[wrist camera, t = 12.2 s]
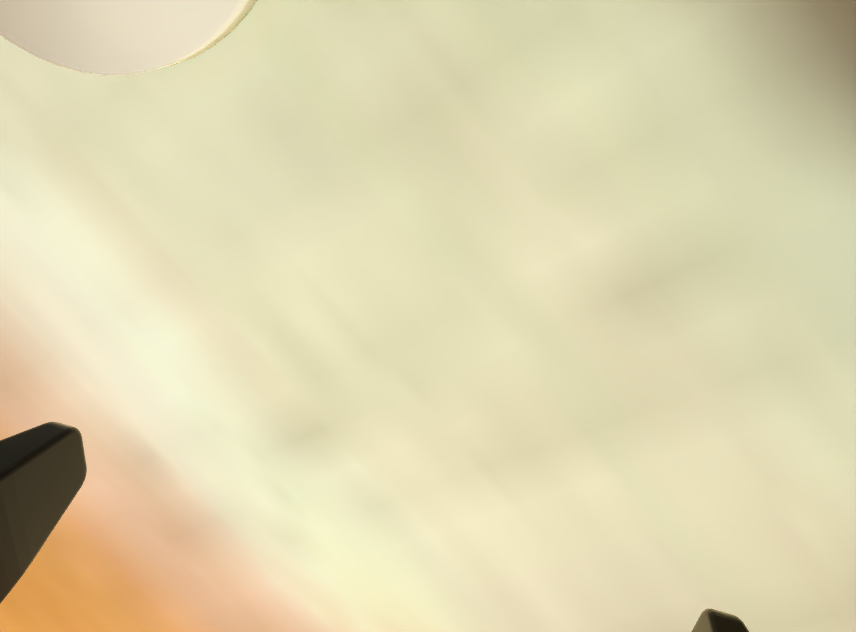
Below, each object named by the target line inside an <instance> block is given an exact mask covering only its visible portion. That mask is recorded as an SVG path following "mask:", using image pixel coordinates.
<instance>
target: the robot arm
mask: <svg viewBox="0 0 856 632" xmlns="http://www.w3.org/2000/svg"><path fill="white" fill-rule="evenodd" d="M86 471H87V468H86V461H85V454H84V448H83V441H82V436H81V433H80V431H79V430H78V429H77V428H75V427H72V426H68V425H65V424H61V423H57V422H48V423H45V424H42V425H40V426H37V427H34V428H32V429H29V430H27V431H24V432H21V433H19V434H16V435H14V436H11V437H8V438H6V439H3V440H1V441H0V603H1V602H2V601H3V599H4V598H5V597H6V596H7V594H8V593H9V592H10V591H11V589H12V588H13V587H14V585H15V584H16V583H17V582H18V580H19V579H20V578H21V576H22V575H23V574H24V572H25V571H26V569H27V568H28V567H29V565H30V564H31V562H32V561H33V559H34V558H35V556H36V555H37V553H38V552H39V550H40V549H41V547H42V546H43V544H44V543H45V541H46V540H47V538H48V536H49V535H50V533H51V532H52V530H53V529H54V527H55V526H56V524H57V523H58V521H59V520H60V518H61V517H62V515H63V514H64V512H65V511H66V509H67V508H68V506H69V505H70V503H71V502H72V500H73V498H74V497H75V495H76V494H77V492H78V491H79V489H80V488H81V486H82V484H83V482H84V480H85V477H86ZM692 632H749V631H748V629H747V628H746V626H745V625H744V623H743V622H742V621H741V620H740V619H739V618H738V617H736V616H734V615H731V614H728V613H724V612H721V611H717V610H714V609H706V610H705V611H703V612H702V614H701V615H700V617H699V619H698V621H697V623H696V625H695V626H694V628H693V630H692Z"/></svg>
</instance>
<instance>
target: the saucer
mask: <svg viewBox="0 0 856 632" xmlns="http://www.w3.org/2000/svg"><path fill="white" fill-rule="evenodd" d="M256 1H257V0H0V35H2V36H3V37H4V38H6V39H7V40H9V41H10V42H11V43H13V44H15V45H17V46H18V47H20V48H22V49H24V50H25V51H27V52H29V53H31V54H32V55H34V56H36V57H39V58H41V59H43V60H46V61H48V62H50V63H53V64H55V65H57V66H61V67H64V68H68V69H71V70H75V71H79V72H83V73H90V74H98V75H105V76H106V75H131V74H137V73H142V72H148V71H152V70H156V69H160V68H163V67H167V66H170V65H174V64H177V63H179V62H182V61H185V60H188V59H190V58H193V57H195V56H197V55H199V54H201V53H202V52H204V51H206V50H208V49H209V48H211V47H213V46H214V45H216V44H217V43H218V42H219V41H221V40H222V39H223V38H224V37H225V36H227V35H228V34H229V33H230V32H232V31H233V30H234V29H235V27H236V26H237V25H238V24H239V23H240V22H241V21H242V20H243V18H244V17H245V16H246V15H247V14H248V13H249V12H250V10H251V9H252V7H253V6H254V4H255V2H256Z"/></svg>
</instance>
